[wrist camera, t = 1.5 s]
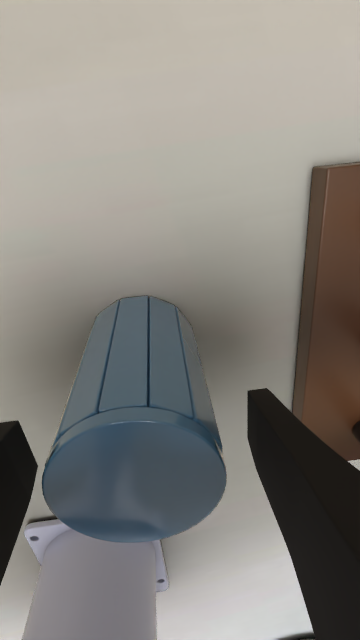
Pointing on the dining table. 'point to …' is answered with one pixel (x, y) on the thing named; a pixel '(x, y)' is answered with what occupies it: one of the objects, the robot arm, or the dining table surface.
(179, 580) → the dining table surface
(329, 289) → the rack
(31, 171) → the dining table surface
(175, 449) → the cup
